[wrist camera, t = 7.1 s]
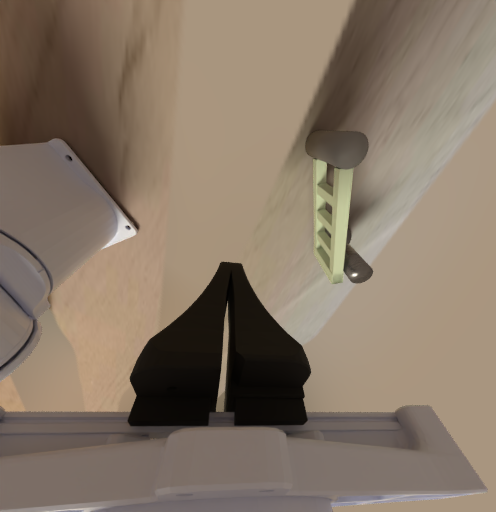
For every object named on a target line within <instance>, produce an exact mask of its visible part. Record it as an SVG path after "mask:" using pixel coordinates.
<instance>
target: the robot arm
mask: <svg viewBox="0 0 496 512" xmlns="http://www.w3.org/2000/svg"><path fill="white" fill-rule="evenodd" d="M69 156H71V158H72V160H70V158H69ZM127 225H128V226H130V228H128V226H127ZM137 233H138V230H137V228H136V227H135V226H134V225H133V223H132V222H131V221H130V220H129V219H128V217H127V216H126V215H125V214H124V213H123V211H122V210H121V209H120V208H119V206H118V205H117V204H116V203H115V202H114V200H113V199H112V198H111V197H110V196H109V194H108V193H107V192H106V191H105V190H104V188H103V187H102V186H101V185H100V183H99V182H98V181H97V180H96V179H95V177H94V176H93V175H92V174H91V173H90V171H89V170H88V169H87V168H86V167H85V165H84V164H83V163H82V162H81V160H80V159H79V158H78V157H77V156H76V154H75V153H74V152H73V151H72V150H71V148H70V147H69V146H68V145H67V144H66V142H65V141H63V140H62V139H59V138H55V139H52V140H50V141H48V142H45V143H32V144H19V145H6V146H0V382H1V381H2V380H4V379H5V378H6V377H7V376H9V375H10V374H11V373H12V372H13V371H14V370H15V369H17V368H18V367H19V366H20V365H21V364H22V363H23V362H24V361H25V360H26V359H27V358H28V356H29V355H30V354H31V353H32V351H33V350H34V349H35V347H36V346H37V344H38V342H39V340H40V337H41V334H42V327H41V324H40V322H39V321H38V320H37V319H38V318H39V317H40V316H41V315H42V314H43V313H44V312H45V311H46V310H47V309H48V308H49V307H50V304H49V303H48V300H47V297H48V296H49V295H50V294H51V293H52V292H53V291H54V290H56V289H57V288H58V287H59V286H60V285H61V284H62V283H64V282H65V281H66V280H67V279H68V278H69V277H70V276H71V275H73V274H74V273H75V272H76V271H77V270H78V269H79V268H81V267H82V266H83V265H84V264H85V263H86V262H87V261H88V260H90V259H91V258H92V257H93V256H94V255H95V254H96V253H98V252H99V251H100V250H101V249H104V248H106V247H109V246H111V245H113V244H116V243H118V242H120V241H123V240H125V239H127V238H130V237H132V236H134V235H136V234H137ZM227 301H228V323H229V340H228V357H227V372H226V387H225V402H224V412H216V403H217V397H218V389H219V381H220V373H221V363H222V349H223V332H224V318H225V313H226V307H227ZM310 374H311V369H310V365H309V362H308V359H307V357H306V354H305V352H304V350H303V347H302V345H300V344H299V343H298V342H297V341H296V340H295V339H294V338H292V337H291V336H290V335H289V334H288V333H287V332H286V331H285V330H284V329H283V328H282V327H281V326H280V325H279V324H278V323H277V322H276V321H275V320H274V319H273V317H272V316H271V315H270V314H269V313H268V311H267V310H266V309H265V308H264V306H263V305H262V303H261V302H260V300H259V299H258V297H257V296H256V294H255V292H254V291H253V289H252V287H251V285H250V283H249V281H248V279H247V277H246V274H245V272H244V269H243V266H242V264H241V263H230V262H221V263H220V265H219V268H218V270H217V272H216V274H215V275H214V277H213V279H212V280H211V282H210V283H209V285H208V286H207V287H206V289H205V290H204V291H203V293H202V294H201V295H200V296H199V298H198V299H197V300H196V301H195V302H194V303H193V304H192V305H191V306H190V307H189V308H188V309H187V310H186V311H185V312H184V313H183V314H182V315H181V316H179V317H178V318H177V319H176V320H175V321H174V322H172V323H171V324H170V325H169V326H167V327H166V328H165V329H163V330H162V331H161V332H159V333H158V334H156V335H155V336H154V337H152V338H151V339H150V340H149V341H148V343H147V344H146V346H145V347H144V349H143V350H142V352H141V354H140V356H139V357H138V359H137V362H136V364H135V366H134V369H133V371H132V373H131V376H130V382H131V384H132V386H133V388H134V391H135V393H136V395H137V396H136V399H135V402H134V404H133V407H132V409H131V412H5V409H3V408H2V407H1V406H0V512H333V511H332V507H335V506H348V505H361V504H373V503H388V502H401V501H416V500H432V499H443V498H450V497H457V496H465V495H471V494H478V493H486V492H487V490H488V489H487V488H486V486H485V485H484V483H483V482H482V480H481V479H480V477H479V476H478V474H477V473H476V472H475V470H474V469H473V467H472V466H471V464H470V463H469V461H468V460H467V458H466V457H465V456H464V454H463V453H462V451H461V450H460V449H459V447H458V445H457V444H456V442H455V441H454V440H453V438H452V437H451V435H450V434H449V433H448V431H447V429H446V428H445V427H444V425H443V424H442V422H441V421H440V419H439V418H438V416H437V415H436V413H435V412H434V410H433V409H432V407H430V406H428V405H408V406H403V407H400V408H398V409H397V410H396V411H395V412H306V410H305V406H304V401H303V398H304V397H305V396H304V391H303V385H304V383H305V382H306V381H307V379H308V378H309V376H310Z"/></svg>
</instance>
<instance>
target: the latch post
mask: <svg viewBox="0 0 496 512" xmlns="http://www.w3.org/2000/svg"><path fill="white" fill-rule="evenodd" d="M325 232H326V233H327V235H328V236H329V237H330V238H331V234H330V233H329V231H328V230H327V229H326V228H325ZM350 240H351V233H350V231H349V229H348V228H347V238H346V248H345V258H344V268H343V271H344V272H345V274H346V275H347V276H348V278H349V279H350V281H351V282H353V283H362V282H365V281H366V280H368V279H369V278H370V277H371V276H372V274H373V270H372V268H371V267H370V266H369V265H368V264H367V263H366V262H365V261H364V260H363V259H362V258H361V257H360V255H359V254H358V253H357V252H356V251H355V250H354V249H353V248H352V247H351V246H350V245H349V243H350Z"/></svg>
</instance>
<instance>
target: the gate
mask: <svg viewBox="0 0 496 512" xmlns="http://www.w3.org/2000/svg"><path fill="white" fill-rule="evenodd" d="M305 148H306V152H307V154H308V155H309V156H311V157H314V158H313V193H314V255H315V257H316V258H317V260H318V262H319V263H320V265H321V267H322V268H323V270H324V272H325V273H326V275H327V277H328V278H329V280H330V282H331V284H336V283H342V282H343V268H344V258H345V248H346V238H347V228H348V218H349V208H350V198H351V188H352V178H353V168H354V167H356V166H357V165H359V164H360V163H361V162H362V160H363V159H364V158H365V156H366V154H367V151H368V139H367V137H366V136H365V135H364V134H363V133H361V132H353V131H323V130H318V131H315V132H313V133H312V134H311V135H310V136H309V137H308V139H307V141H306V145H305ZM327 163H328V164H331V165H333V166H336V167H334V186H333V187H331V186H330V185H328V184H327V183H326V172H327ZM326 202H327V203H329V204H330V205H331V206H332V215H331V214H330V213H329V212H328V211H327V210H326ZM325 228H326V229H327V230H328V231H329V233H330V234H331V238H330V237H329V236H328V235H327V233H326V232H325Z"/></svg>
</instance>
